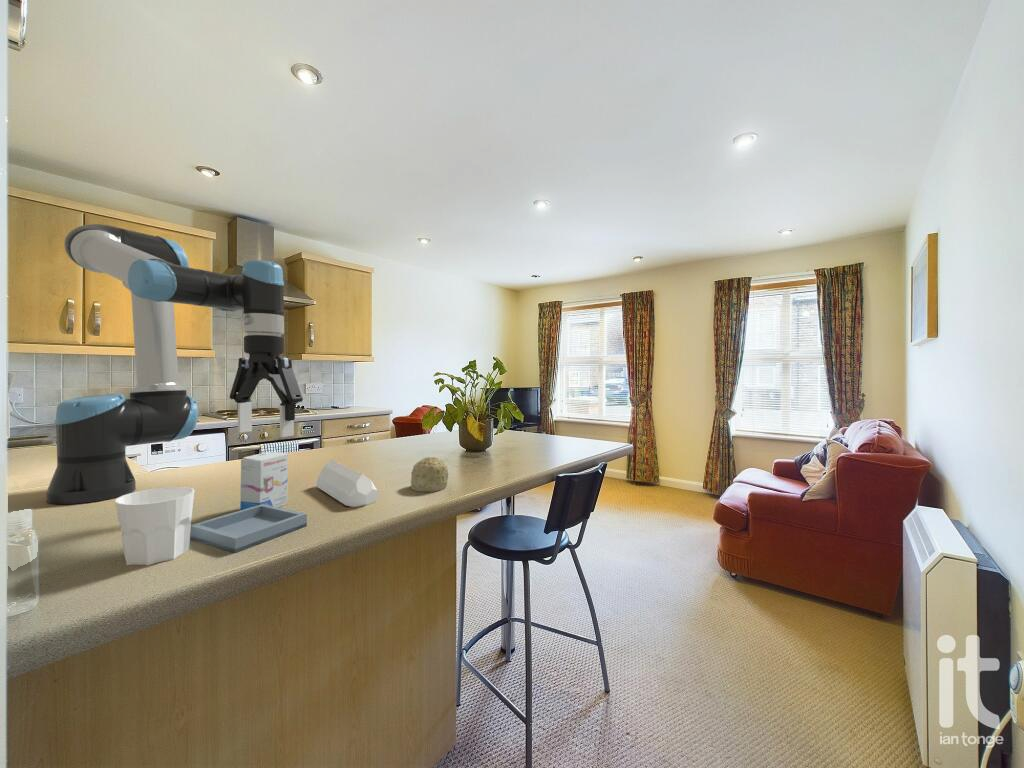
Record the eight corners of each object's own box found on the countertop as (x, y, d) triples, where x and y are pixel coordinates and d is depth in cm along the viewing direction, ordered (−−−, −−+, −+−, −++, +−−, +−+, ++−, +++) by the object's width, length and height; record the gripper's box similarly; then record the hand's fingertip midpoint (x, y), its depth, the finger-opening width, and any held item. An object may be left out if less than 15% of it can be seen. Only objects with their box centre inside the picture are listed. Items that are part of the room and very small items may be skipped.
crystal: (306, 473, 112) (341, 494, 94) (330, 456, 116) (369, 473, 98) (321, 495, 115) (358, 520, 97) (344, 478, 119) (384, 499, 101)
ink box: (260, 516, 91) (259, 459, 90) (239, 514, 92) (238, 458, 91) (288, 503, 99) (288, 451, 99) (269, 502, 100) (269, 450, 100)
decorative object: (432, 507, 110) (455, 473, 110) (399, 484, 109) (422, 451, 110) (437, 499, 119) (458, 468, 120) (406, 478, 119) (427, 447, 119)
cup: (98, 568, 67) (97, 504, 67) (151, 542, 77) (150, 486, 77) (164, 569, 67) (163, 505, 67) (208, 542, 77) (208, 487, 77)
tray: (189, 538, 79) (189, 525, 79) (262, 515, 91) (262, 504, 91) (235, 552, 73) (235, 538, 73) (306, 525, 86) (306, 513, 86)
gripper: (210, 335, 96) (211, 432, 97) (288, 332, 85) (289, 440, 86) (243, 337, 103) (245, 428, 104) (320, 335, 92) (321, 435, 93)
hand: (265, 434), depth 95 cm, fingers open, 13 cm apart
